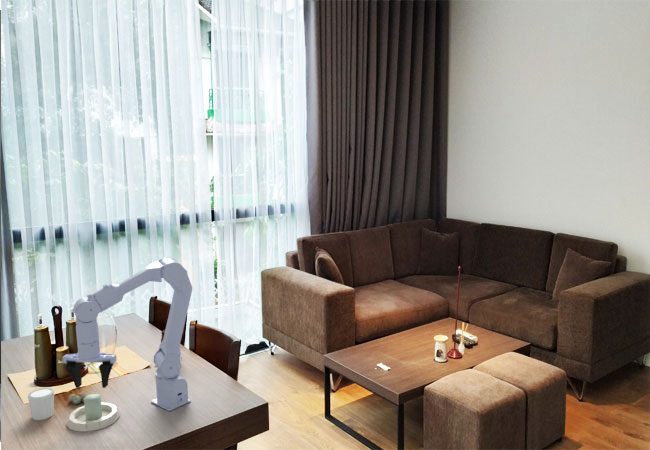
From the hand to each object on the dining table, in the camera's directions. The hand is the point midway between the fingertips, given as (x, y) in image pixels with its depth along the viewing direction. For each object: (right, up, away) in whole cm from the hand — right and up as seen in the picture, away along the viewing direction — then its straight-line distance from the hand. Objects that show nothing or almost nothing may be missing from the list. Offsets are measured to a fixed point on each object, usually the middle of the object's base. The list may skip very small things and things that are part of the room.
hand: (91, 386), depth 159 cm
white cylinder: (-16, -10, +4) cm, 19 cm away
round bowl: (0, -10, +1) cm, 10 cm away
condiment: (+10, -4, +42) cm, 43 cm away
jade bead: (0, -9, +1) cm, 9 cm away
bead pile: (-8, -8, +12) cm, 17 cm away
